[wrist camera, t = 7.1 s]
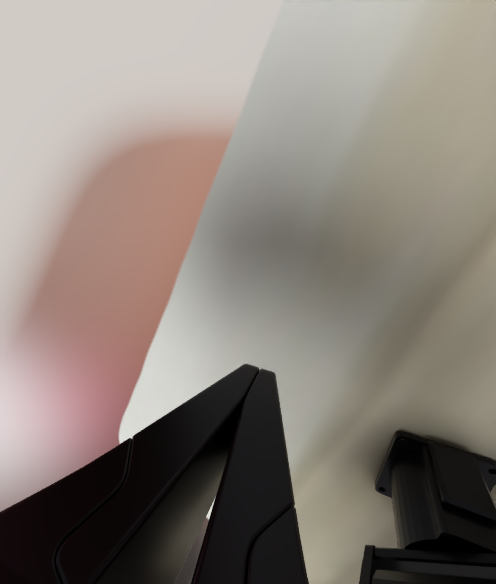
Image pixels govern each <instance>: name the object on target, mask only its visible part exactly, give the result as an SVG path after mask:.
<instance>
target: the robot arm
mask: <svg viewBox="0 0 496 584" xmlns="http://www.w3.org/2000/svg"><path fill="white" fill-rule="evenodd" d="M401 439H404V440H401ZM495 484H496V462H494V461H491V460H488V459H485V458H482V457H479V456H476V455H473V454H470V453H467V452H464V451H461V450H458V449H454V448H451V447H448V446H445V445H442V444H439V443H436V442H433V441H430V440H427V439H424V438H420V437H417V436H414V435H411V434H408V433H405V432H397V433H396V434H395V435H394V438H393V440H392V443H391V445H390V447H389V450H388V452H387V455H386V457H385V460H384V462H383V464H382V467H381V469H380V472H379V474H378V477H377V479H376V481H375V489H376V491H378V492H379V493H381V494H384V495H386V496H389V497H391V498H392V503H393V511H394V520H395V529H396V538H397V547H398V548H379V547H375V546H374V545H365V551H364V557H363V561H362V568H361V574H360V581H359V584H496V505H495V503H494V501H493V498H492V496H491V494H490V491H491V490H492V488H493V487H494V485H495ZM216 494H217V495H216ZM215 497H216V498H215ZM214 499H215V502H214V505H213V509H212V512H211V516H210V519H209V522H208V526H207V529H206V533H205V536H204V540H203V544H202V547H201V550H200V554H199V557H198V561H197V564H196V568H195V571H194V575H193V578H192V582H191V584H309V582H308V578H307V573H306V568H305V562H304V556H303V551H302V545H301V540H300V534H299V527H298V521H297V514H296V509H295V508H294V505H295V502H294V496H293V489H292V482H291V475H290V469H289V462H288V455H287V449H286V442H285V435H284V429H283V422H282V415H281V408H280V402H279V395H278V388H277V382H276V375H275V373H274V372H272V371H268V370H265V369H260V370H259V368H258V367H255V366H252V365H249V364H244V365H242V366H241V367H239V368H238V369H236V370H235V371H233V372H231V373H230V374H228V375H227V376H225V377H224V378H222V379H221V380H219V381H217V382H216V383H214V384H213V385H211V386H210V387H208V388H207V389H205V390H203V391H202V392H200V393H199V394H197V395H196V396H194V397H193V398H191V399H190V400H188V401H186V402H185V403H183V404H182V405H180V406H179V407H177V408H176V409H174V410H172V411H171V412H169V413H168V414H166V415H165V416H163V417H162V418H160V419H159V420H157V421H155V422H154V423H152V424H151V425H149V426H148V427H146V428H145V429H143V430H141V431H140V432H138V433H137V434H135V435H134V436H133V438H132V439H131V438H129V439H127V440H126V441H124V442H123V443H121V444H120V445H118V446H116V447H115V448H113V449H112V450H110V451H108V452H107V453H105V454H104V455H102V456H100V457H99V458H97V459H95V460H94V461H92V462H91V463H89V464H87V465H86V466H84V467H82V468H80V469H79V470H77V471H75V472H73V473H71V474H70V475H68V476H66V477H64V478H63V479H61V480H59V481H57V482H55V483H54V484H52V485H50V486H48V487H46V488H44V489H42V490H41V491H39V492H37V493H35V494H33V495H31V496H30V497H27V498H26V499H24V500H22V501H20V502H18V503H16V504H14V505H12V506H11V507H9V508H7V509H5V510H3V511H1V512H0V584H174V583H175V581H176V578H177V576H178V574H179V572H180V570H181V568H182V566H183V564H184V562H185V560H186V558H187V555H188V553H189V551H190V549H191V547H192V545H193V543H194V541H195V539H196V536H197V534H198V532H199V530H200V528H201V526H202V524H203V522H204V520H205V518H206V515H207V513H208V511H209V509H210V507H211V505H212V503H213V501H214Z"/></svg>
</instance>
